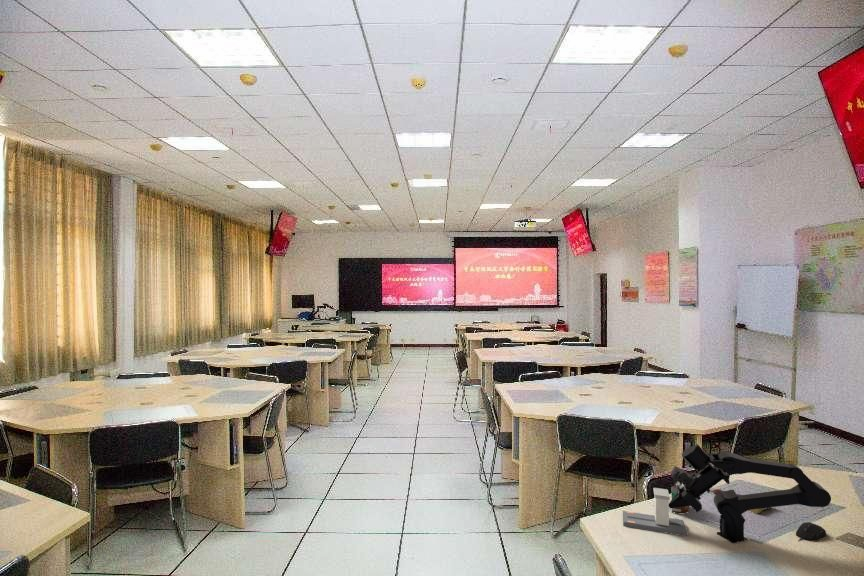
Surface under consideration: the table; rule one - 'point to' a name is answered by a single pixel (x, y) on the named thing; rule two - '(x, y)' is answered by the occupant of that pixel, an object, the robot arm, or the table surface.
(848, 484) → the table surface
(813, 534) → the gaming mouse
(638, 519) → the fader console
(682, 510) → the food container
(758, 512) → the gavel
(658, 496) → the fader knob
